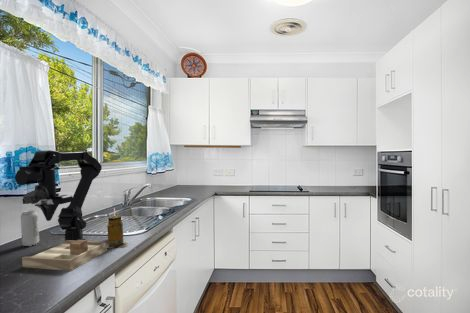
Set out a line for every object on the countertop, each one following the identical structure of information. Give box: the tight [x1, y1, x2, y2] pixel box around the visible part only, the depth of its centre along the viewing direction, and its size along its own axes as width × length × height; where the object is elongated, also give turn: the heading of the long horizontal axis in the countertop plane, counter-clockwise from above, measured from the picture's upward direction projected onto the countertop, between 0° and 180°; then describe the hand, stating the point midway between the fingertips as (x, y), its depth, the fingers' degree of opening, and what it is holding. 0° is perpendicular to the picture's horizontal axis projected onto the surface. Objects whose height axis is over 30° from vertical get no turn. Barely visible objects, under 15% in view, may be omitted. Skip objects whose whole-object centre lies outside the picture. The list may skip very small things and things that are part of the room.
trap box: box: [21, 239, 108, 272], centre depth 101 cm, size 18×20×4 cm
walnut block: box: [70, 239, 88, 255], centre depth 100 cm, size 4×4×4 cm
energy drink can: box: [20, 209, 40, 247], centre depth 118 cm, size 6×6×15 cm
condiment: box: [106, 215, 131, 249], centre depth 114 cm, size 7×8×12 cm
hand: (48, 220), depth 107 cm, fingers closed
